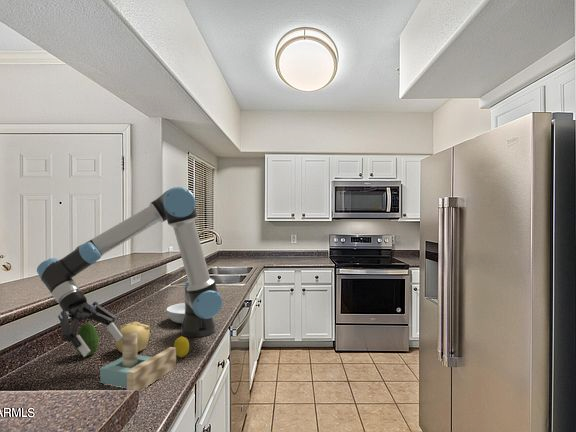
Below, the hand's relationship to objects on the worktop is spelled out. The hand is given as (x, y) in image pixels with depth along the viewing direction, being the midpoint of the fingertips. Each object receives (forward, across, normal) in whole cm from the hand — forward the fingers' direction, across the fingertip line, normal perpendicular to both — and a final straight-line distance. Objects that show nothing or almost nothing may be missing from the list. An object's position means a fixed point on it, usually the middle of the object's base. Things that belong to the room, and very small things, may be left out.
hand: (104, 346), depth 117 cm
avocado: (-6, -10, -20) cm, 23 cm away
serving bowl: (+2, -58, -11) cm, 59 cm away
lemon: (+18, -19, +5) cm, 27 cm away
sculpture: (+3, -19, -11) cm, 22 cm away
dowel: (+14, 0, +1) cm, 14 cm away
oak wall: (+20, -1, +7) cm, 21 cm away
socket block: (+14, 0, +1) cm, 14 cm away
